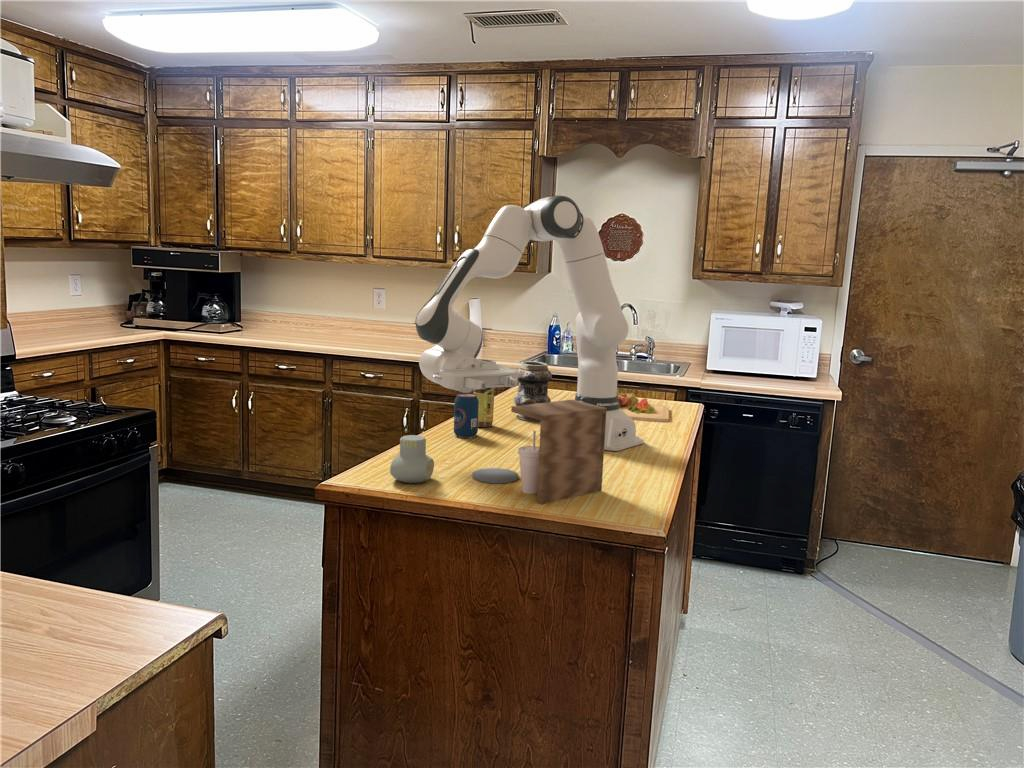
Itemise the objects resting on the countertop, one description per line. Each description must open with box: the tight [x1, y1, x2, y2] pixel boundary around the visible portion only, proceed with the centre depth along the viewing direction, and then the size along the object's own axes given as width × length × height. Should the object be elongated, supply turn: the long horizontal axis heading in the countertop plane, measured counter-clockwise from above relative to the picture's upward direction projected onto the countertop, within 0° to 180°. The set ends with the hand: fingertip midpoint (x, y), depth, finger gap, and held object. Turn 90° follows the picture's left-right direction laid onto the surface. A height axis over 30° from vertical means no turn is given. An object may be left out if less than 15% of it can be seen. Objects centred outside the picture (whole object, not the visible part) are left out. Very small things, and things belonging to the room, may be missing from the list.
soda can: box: [453, 392, 479, 438], centre depth 225 cm, size 7×7×12 cm
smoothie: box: [517, 430, 540, 495], centre depth 175 cm, size 6×6×14 cm
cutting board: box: [571, 392, 670, 423], centre depth 270 cm, size 35×23×8 cm
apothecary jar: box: [513, 360, 553, 422], centre depth 253 cm, size 12×12×18 cm
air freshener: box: [389, 434, 435, 484], centre depth 180 cm, size 11×8×10 cm
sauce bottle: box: [473, 387, 495, 428], centre depth 238 cm, size 7×6×20 cm
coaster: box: [471, 467, 520, 485], centre depth 186 cm, size 11×11×1 cm
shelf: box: [510, 399, 607, 505], centre depth 176 cm, size 18×11×19 cm, turn 128°
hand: (499, 384), depth 182 cm, fingers open, 8 cm apart
